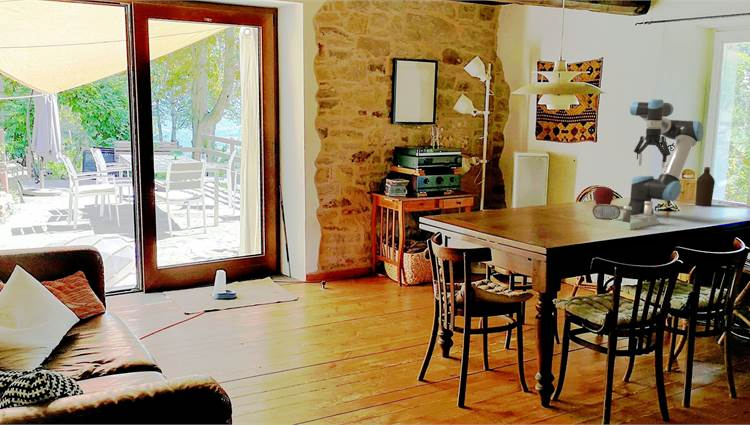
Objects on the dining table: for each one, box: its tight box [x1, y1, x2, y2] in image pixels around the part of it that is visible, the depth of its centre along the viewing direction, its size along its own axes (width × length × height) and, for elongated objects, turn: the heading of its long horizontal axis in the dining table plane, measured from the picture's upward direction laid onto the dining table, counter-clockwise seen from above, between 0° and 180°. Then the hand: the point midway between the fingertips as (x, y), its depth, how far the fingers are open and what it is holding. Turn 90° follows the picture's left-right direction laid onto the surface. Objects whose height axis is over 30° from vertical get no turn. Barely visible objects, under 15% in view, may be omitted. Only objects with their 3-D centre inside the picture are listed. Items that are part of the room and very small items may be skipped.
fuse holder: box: [631, 214, 660, 227], centre depth 376 cm, size 10×17×4 cm, turn 128°
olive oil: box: [695, 166, 716, 207], centre depth 444 cm, size 11×11×25 cm
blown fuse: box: [622, 205, 632, 223], centre depth 366 cm, size 4×4×10 cm
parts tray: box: [609, 217, 644, 230], centre depth 366 cm, size 12×12×4 cm
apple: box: [593, 186, 615, 205], centre depth 430 cm, size 12×12×13 cm
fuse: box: [644, 200, 654, 216], centre depth 378 cm, size 4×4×10 cm
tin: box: [592, 204, 621, 220], centre depth 388 cm, size 15×3×8 cm, turn 74°
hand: (650, 166), depth 376 cm, fingers open, 13 cm apart
